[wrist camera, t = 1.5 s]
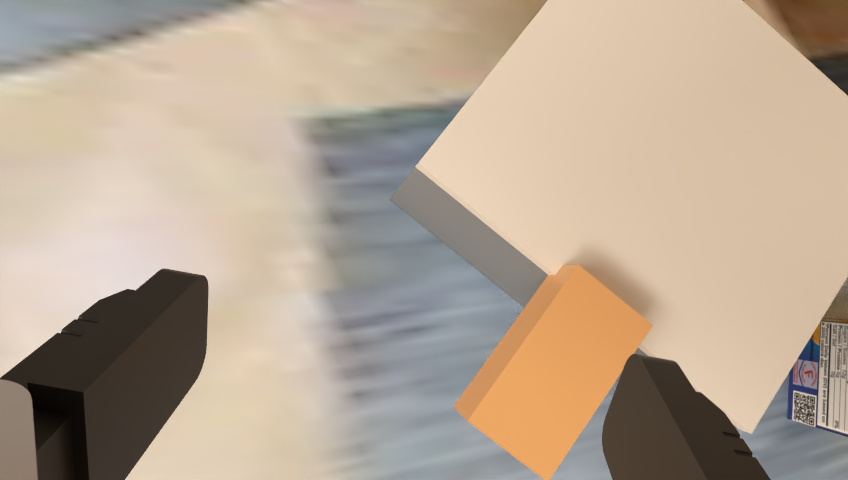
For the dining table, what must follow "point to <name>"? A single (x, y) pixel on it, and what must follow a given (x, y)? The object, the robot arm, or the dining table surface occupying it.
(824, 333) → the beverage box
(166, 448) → the dining table surface
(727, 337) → the lid flap
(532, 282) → the carton
